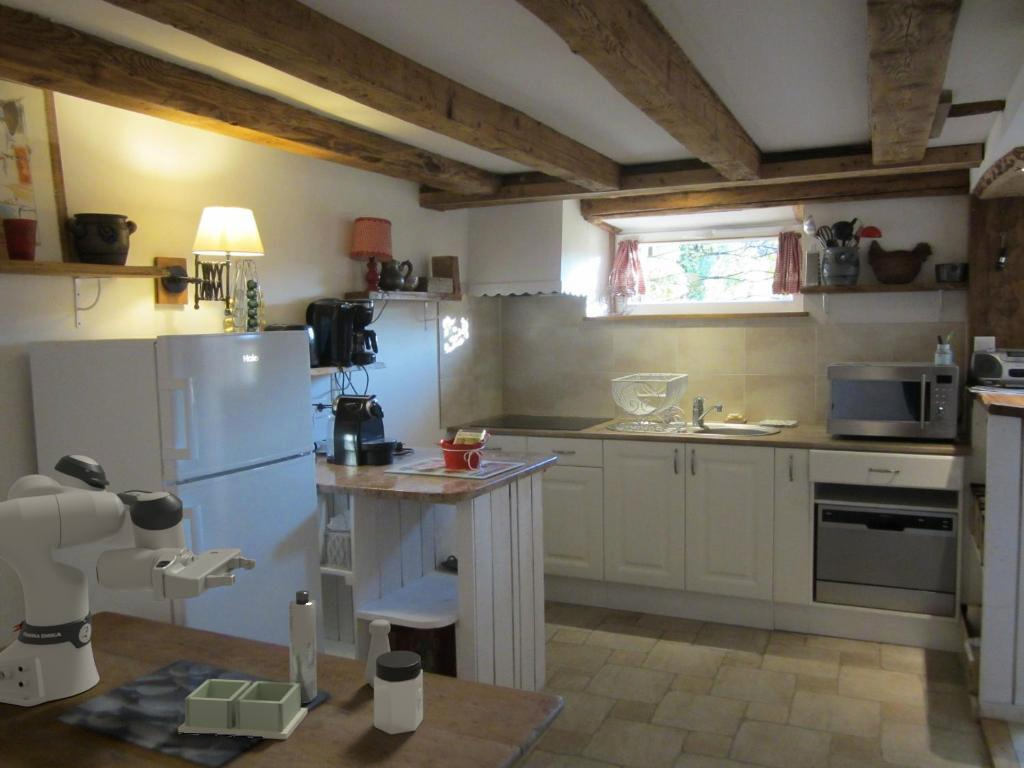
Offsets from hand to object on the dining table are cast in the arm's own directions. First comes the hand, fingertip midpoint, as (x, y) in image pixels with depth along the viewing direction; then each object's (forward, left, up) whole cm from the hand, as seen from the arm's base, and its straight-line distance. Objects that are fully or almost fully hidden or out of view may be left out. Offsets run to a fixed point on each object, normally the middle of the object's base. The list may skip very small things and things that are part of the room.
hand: (244, 572), depth 158 cm
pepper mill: (+12, -1, -24) cm, 27 cm away
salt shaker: (+25, +7, -25) cm, 36 cm away
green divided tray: (+5, -12, -24) cm, 28 cm away
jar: (+33, -9, -25) cm, 42 cm away
